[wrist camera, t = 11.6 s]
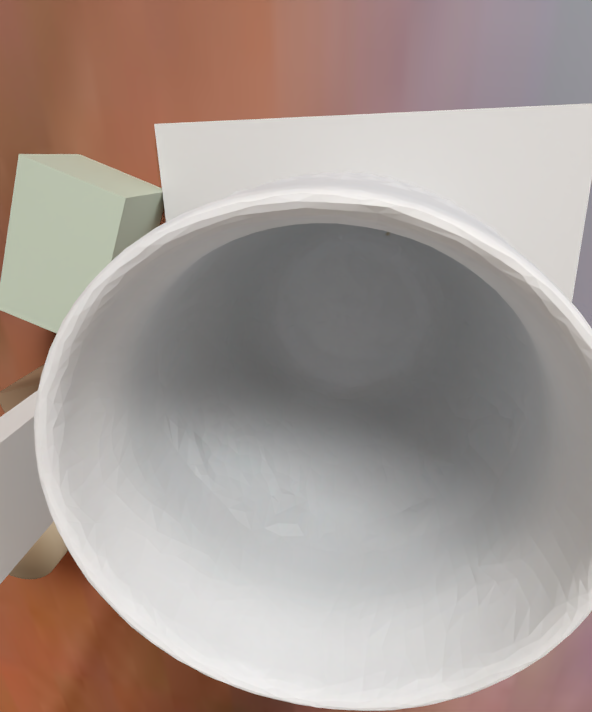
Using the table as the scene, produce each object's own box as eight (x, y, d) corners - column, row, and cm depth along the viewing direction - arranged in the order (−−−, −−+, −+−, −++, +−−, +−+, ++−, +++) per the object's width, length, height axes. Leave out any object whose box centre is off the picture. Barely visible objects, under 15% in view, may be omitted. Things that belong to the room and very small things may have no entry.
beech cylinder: (49, 507, 29) (-14, 574, 24) (34, 444, 27) (-36, 503, 23) (117, 512, 28) (65, 583, 24) (105, 448, 27) (47, 509, 22)
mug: (594, 410, 21) (865, 741, 9) (372, 524, 25) (364, 865, 13) (385, 96, 18) (391, -7, 6) (169, 277, 22) (-84, 425, 10)
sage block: (56, 284, 24) (-4, 308, 20) (80, 154, 22) (19, 154, 18) (136, 318, 24) (91, 347, 20) (169, 190, 22) (125, 198, 18)
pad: (200, 471, 26) (196, 478, 26) (160, 124, 21) (154, 124, 20) (536, 491, 24) (540, 499, 23) (597, 104, 18) (603, 102, 18)
